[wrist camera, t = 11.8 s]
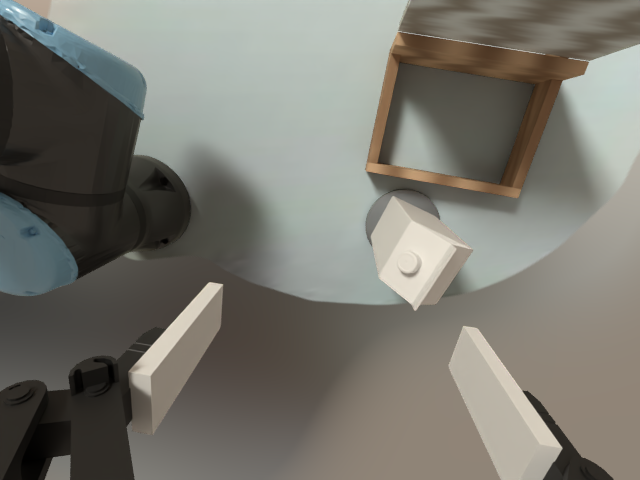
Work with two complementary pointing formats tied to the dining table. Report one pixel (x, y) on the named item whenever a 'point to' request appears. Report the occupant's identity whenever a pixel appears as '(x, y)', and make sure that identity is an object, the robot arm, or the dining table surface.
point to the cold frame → (505, 61)
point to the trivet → (403, 194)
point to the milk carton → (416, 253)
